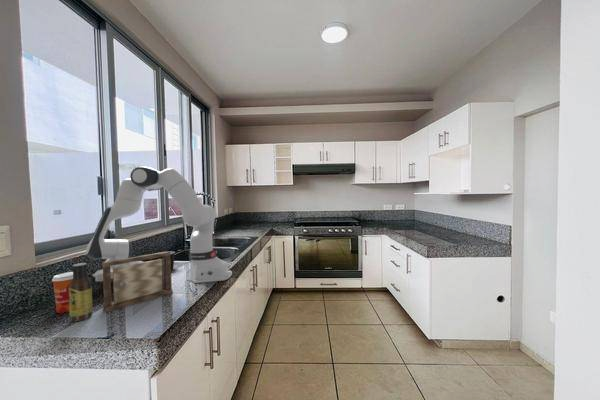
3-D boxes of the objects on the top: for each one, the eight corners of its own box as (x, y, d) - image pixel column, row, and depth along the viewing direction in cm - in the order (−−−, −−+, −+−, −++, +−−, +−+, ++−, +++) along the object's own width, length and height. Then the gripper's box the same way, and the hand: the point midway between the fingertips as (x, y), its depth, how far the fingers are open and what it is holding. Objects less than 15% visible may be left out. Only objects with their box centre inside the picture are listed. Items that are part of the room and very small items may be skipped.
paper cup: (48, 312, 94) (46, 276, 94) (72, 304, 101) (71, 270, 101) (60, 316, 91) (59, 278, 91) (84, 307, 99) (83, 272, 98)
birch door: (164, 288, 112) (163, 258, 112) (166, 290, 110) (165, 259, 110) (113, 302, 98) (112, 267, 98) (115, 304, 96) (114, 269, 96)
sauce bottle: (68, 318, 89) (66, 264, 89) (90, 312, 94) (89, 260, 93) (71, 324, 85) (69, 267, 85) (94, 317, 90) (92, 263, 89)
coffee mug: (178, 268, 150) (178, 251, 150) (167, 272, 142) (167, 255, 142) (162, 267, 153) (162, 251, 153) (151, 271, 145) (150, 254, 145)
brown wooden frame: (168, 289, 115) (166, 250, 115) (172, 293, 111) (171, 252, 111) (103, 307, 98) (101, 261, 97) (106, 312, 94) (104, 264, 93)
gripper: (91, 267, 113) (96, 273, 104) (142, 258, 128) (151, 263, 119) (92, 281, 113) (97, 288, 104) (143, 270, 128) (151, 276, 119)
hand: (126, 275), depth 111 cm, fingers closed
